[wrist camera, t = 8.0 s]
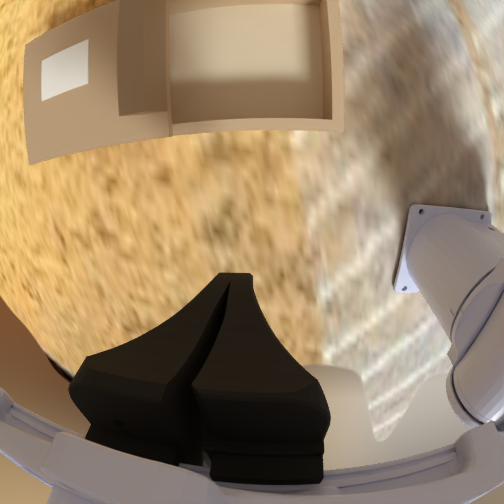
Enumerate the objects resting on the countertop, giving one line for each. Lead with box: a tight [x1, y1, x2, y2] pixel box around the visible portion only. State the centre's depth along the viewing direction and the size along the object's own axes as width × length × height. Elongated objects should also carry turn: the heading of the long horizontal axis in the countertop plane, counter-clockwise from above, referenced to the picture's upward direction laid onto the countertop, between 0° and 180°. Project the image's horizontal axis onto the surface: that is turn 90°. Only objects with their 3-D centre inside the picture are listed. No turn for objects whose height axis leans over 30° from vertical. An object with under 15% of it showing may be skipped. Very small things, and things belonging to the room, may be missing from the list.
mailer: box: [169, 0, 344, 136], centre depth 14 cm, size 12×10×4 cm
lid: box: [23, 0, 173, 165], centre depth 12 cm, size 12×10×4 cm
